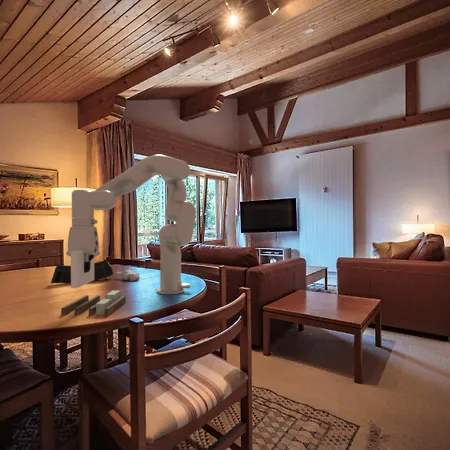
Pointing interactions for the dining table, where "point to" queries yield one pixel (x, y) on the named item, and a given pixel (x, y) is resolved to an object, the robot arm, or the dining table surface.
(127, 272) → the bunny figurine
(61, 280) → the magazine
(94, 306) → the rack
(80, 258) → the tall sheet
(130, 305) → the dining table surface
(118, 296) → the large offcut
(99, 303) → the small offcut
